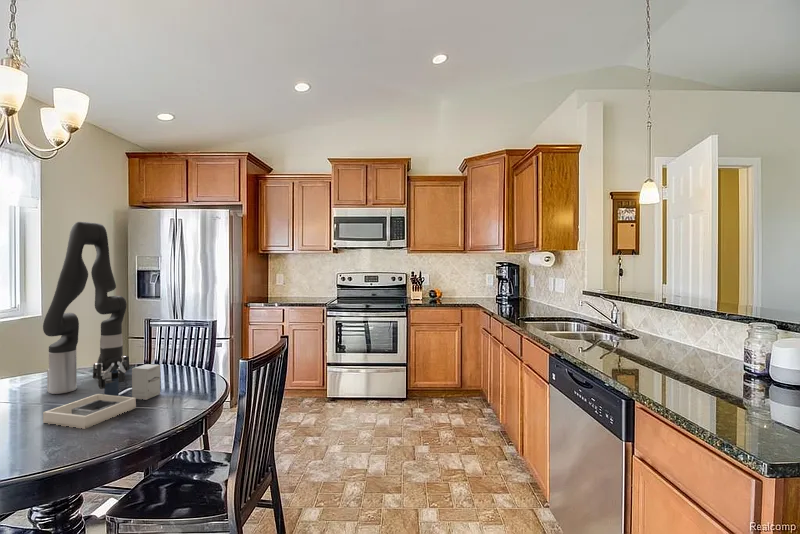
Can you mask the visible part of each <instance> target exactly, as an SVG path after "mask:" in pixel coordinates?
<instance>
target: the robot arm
mask: <svg viewBox="0 0 800 534" xmlns="http://www.w3.org/2000/svg"><path fill="white" fill-rule="evenodd" d="M108 237H109V236H108V232H107V229H106V227H105V226H104V225H103V224H102V223H98V222H89V221H88V222H87V221H77V222H75V223H73V224H72V225H71V229H70V231H69V235H68V240H67V241H68V242H67V248H66V252H65V258H64V260H63V265H62V268H61V270H60V273H59V277H58V279H57V280H58V281H57V284H56V289H55V291H54V295H53V297H52V301H51V303H50V305H49V307H48V309H47V310H48V311H47V312H46V314H45V317H44V319H43V323H42V324H43V325H42V331H43V333H44V335H46V336H47V337H58V336H59V337H60V336H61V337H60V338H58V340H57V341H55V342H53V343H50V344H49V346H48V369H47V370H46V374H47V375H46V377H47V378H46V381H47V382H46V385H47V387H46V389H47V392H48V393H49V394H51V395H52V394H53V395H55V394H56V395H58V394H66V393H69V392H73V391H75V390H77V386H78V385H77V384H78V381H77V378H78V377H77V376H78V375H77V374H78V373H77V369H78V368H77V346H78V342H79V333H80V330H79V329H80V322H79V317H78V315H76V314H75V313H74V312H66V310H67V308H68V307H69V306H70V305H71V303H72V302H74V300H76V299H77V298H78V297H79V296H81V294H82V292H83V291H84V290H85V287H86V285H87V281H88V279H89V272H88V267H87V266H86V264H85V262H84V260H83V259H84V258H83V249H84V247H85V245H87V246H88V245H89V246H94V248H95V251H96V253H95V254H96V257H95V260H94V262H93V264H92V268H91V272H90V273H91V279H92V282H93V285H94V309H95V310H96V312H97V313H98V314H100V315H110V316H109V318H107V319H105V320H102V321H101V323H100V340H99V351H100V352H99V355H100V358H101V359H102V361H101V363H97V362H95V363H93V365H92V366H93V367H92V368H93V369H92V380H93V379H94V380H98V381H97V382H98V388H99V389H101V390H102V389H103V390H104V388H105V382H106V379H105V377H106V375H107V374H108V373H109V372H110V371H113V370H118V372H119V373H118V380H119V383H124V382H125V381H126V372H127V371H129V370H130V368H131V367H130V358H129V356H128V355H124V347H123V344H124V340H123V328H122V327H123V321H124V318H125V314H126V312H127V311H126V310H127V306H128V304H127V301H126V299H125V297H124V296H122V295H111V296H109V295H108V293H110V292H113V291H115V290H116V288H117V284H116V280H115V277H114V273H113V269H112V266H111V259H110V247H109V239H108ZM121 363H122V364H121ZM104 370H105V371H104Z"/></svg>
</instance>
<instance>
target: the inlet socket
mask: <svg viewBox="0 0 800 534" xmlns="http://www.w3.org/2000/svg"><path fill="white" fill-rule="evenodd" d="M118 403H120V402H113V401H104V400H96V401H93V402H91V403H88V404H85V405H82V406H79V407H76V408H73V409H72V414H75V415H83V416H86V415H89V414H91V413H94V412H97V411H99V410H102V409H105V408H107V407H110V406H113V405H115V404H118ZM96 409H98V410H96ZM94 410H95V411H94Z"/></svg>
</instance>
